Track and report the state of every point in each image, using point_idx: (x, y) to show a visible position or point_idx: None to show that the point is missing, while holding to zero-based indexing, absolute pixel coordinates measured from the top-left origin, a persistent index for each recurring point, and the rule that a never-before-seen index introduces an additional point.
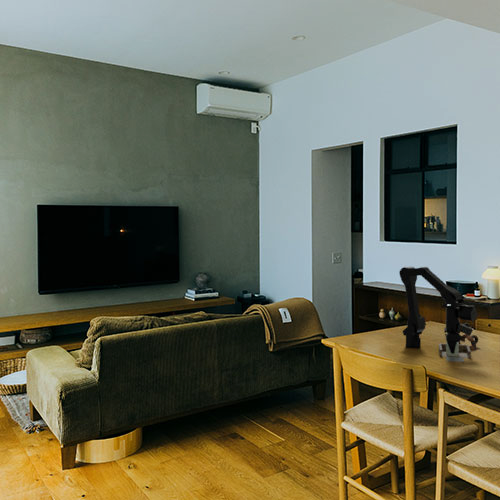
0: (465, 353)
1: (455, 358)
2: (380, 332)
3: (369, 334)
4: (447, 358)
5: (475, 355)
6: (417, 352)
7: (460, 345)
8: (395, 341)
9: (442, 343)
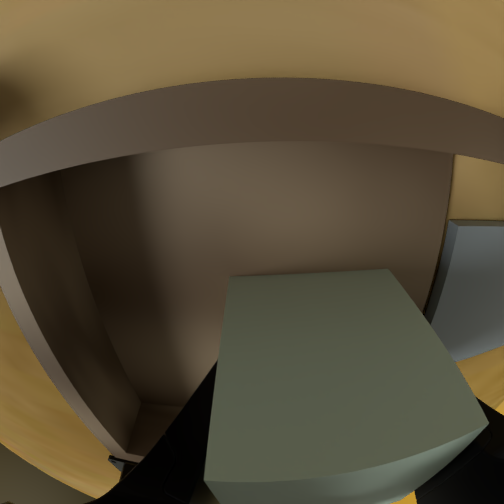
0: (170, 162)
1: (482, 296)
2: (27, 459)
3: (70, 484)
4: (470, 351)
5: (193, 19)
6: None
7: (23, 280)
8: (94, 477)
9: (101, 442)
